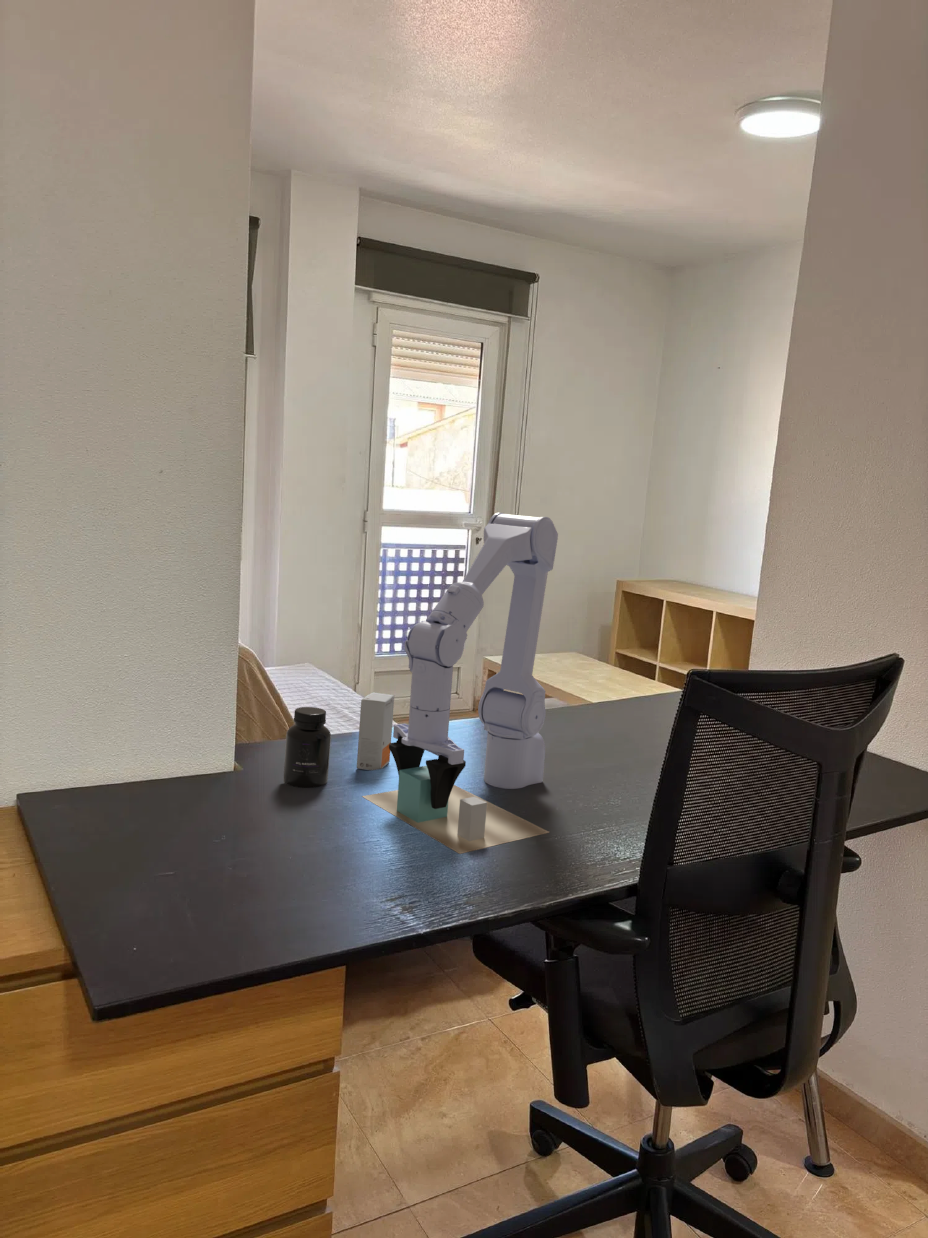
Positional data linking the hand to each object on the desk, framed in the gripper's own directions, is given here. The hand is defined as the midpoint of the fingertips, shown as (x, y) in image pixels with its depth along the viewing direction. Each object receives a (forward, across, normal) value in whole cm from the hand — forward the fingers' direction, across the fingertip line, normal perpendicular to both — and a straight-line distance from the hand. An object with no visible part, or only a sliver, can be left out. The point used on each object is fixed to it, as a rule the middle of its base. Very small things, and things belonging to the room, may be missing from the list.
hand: (423, 798), depth 130 cm
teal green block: (+2, 0, 0) cm, 2 cm away
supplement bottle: (+3, -20, -8) cm, 22 cm away
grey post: (+2, +10, +1) cm, 10 cm away
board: (+3, +2, +4) cm, 5 cm away
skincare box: (+3, -24, +7) cm, 25 cm away
